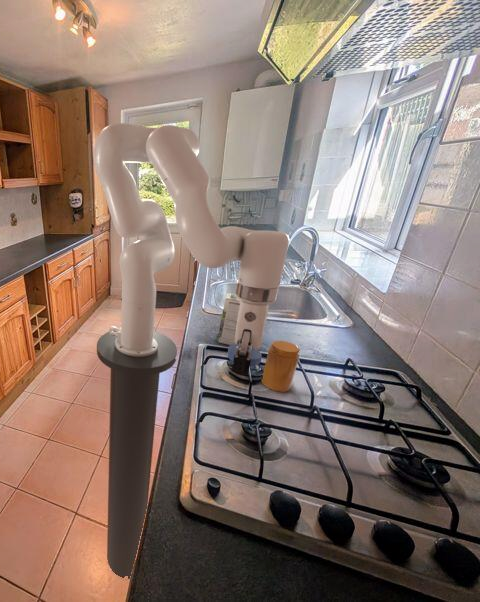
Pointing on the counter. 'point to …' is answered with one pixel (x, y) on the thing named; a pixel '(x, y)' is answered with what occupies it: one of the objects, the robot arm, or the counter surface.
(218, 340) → the syrup box
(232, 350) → the honey lid
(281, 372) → the honey jar
